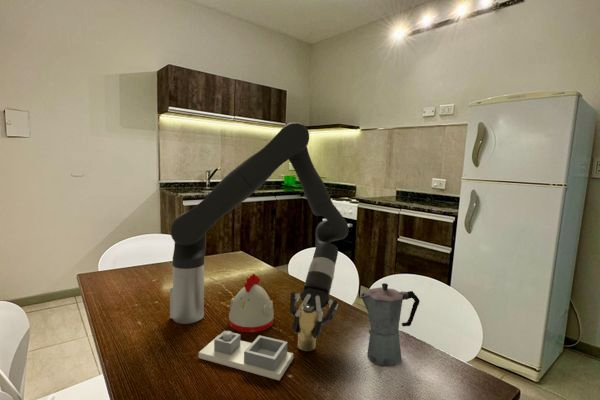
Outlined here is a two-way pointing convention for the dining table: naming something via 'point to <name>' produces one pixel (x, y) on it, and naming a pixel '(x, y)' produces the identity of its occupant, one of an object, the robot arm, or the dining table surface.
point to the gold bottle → (307, 327)
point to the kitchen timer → (251, 308)
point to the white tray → (249, 354)
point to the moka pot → (386, 323)
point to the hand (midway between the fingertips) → (305, 334)
